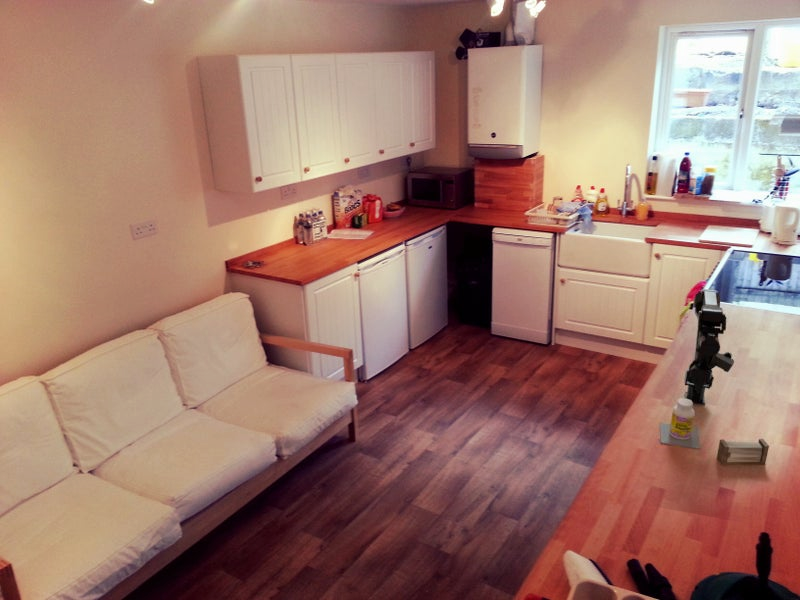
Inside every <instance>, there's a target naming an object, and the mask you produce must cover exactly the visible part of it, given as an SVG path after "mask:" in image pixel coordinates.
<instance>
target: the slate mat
mask: <svg viewBox="0 0 800 600" xmlns="http://www.w3.org/2000/svg"><path fill="white" fill-rule="evenodd" d="M659 425H660V427H659V428H660V429H659V431H660V434H659V435H660V438H659V439H660V444H662V445H663V444H664V445H668V446H677V447H682V448H688V449H696V450H701V440H700V433H699V428H698V427H692V433H691V437H690V438H689V439H686V440H680V439H676V438H674V437H673V436H672V435H671V434H670V426H671V423H666V422H659Z"/></svg>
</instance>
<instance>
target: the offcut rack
mask: <svg viewBox="0 0 800 600" xmlns="http://www.w3.org/2000/svg"><path fill="white" fill-rule="evenodd" d="M769 449H770V445H769V444H768V443H767V442H766V440H764V438H758V441H757V440H755V441H753V440H752V441H750V440H749V441H747V440H746V441H743V440H738V441H737V440H735V441H731V440H730V441H727V440H725V439H719V444H718V449H717V455H716V459H717V461H718V462H719V464H720V466H721V467H722V466H725V467H726V466H765V465H766V462H767V457H768V453H769Z"/></svg>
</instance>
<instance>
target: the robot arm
mask: <svg viewBox="0 0 800 600" xmlns="http://www.w3.org/2000/svg"><path fill="white" fill-rule="evenodd" d="M718 293H719V291H718V290H716V289H708V288H707V289H706V288H704V289H701V291H700V292H698V293H696V294H694V298H693V305H692V307H693V308H694V315H695V317H696V318H697V329H696V342H695V348H694V349H695V350H694V358H693V360H692V362H691V363H690V364H689V366H688V369H686V371H685V374H684V386H687V390H686V391H685V392H684V398H686V399H689V400H691V401H692V402H693V404H699V405H706V399H705V391H706V389H709V390H710V389H711V388H712V387H713V383H714V380H715V377H714V376H713V369H714V368H715V367H717V368H719V369H721V370H723V371H724V372H726V373H729V372H730V371H731V368H732V367H733V366H734V363H735V360H734V358H732V357H733V355H732V353H731V352H729V351H727V352H725V353H720V351H721V344H720V341H719V340H720V339H719V335H724V332H725V331H726V329H727V316H726V313H724V310H723V308H722V307H721V295H719V294H718Z"/></svg>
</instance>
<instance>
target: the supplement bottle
mask: <svg viewBox="0 0 800 600" xmlns="http://www.w3.org/2000/svg"><path fill="white" fill-rule="evenodd" d="M693 407H694V403H693V402H692V401H691V400H689V399H686V398H685V397H683V398H682V397H681V398H679V399H677V402H676V405H675V406H673V408H672V412H671V413H672V414H671V420H670V424H671V426H670V434H671V435H672V436H673V437H674V438H676V439H680V440H686V439H689V438H690V437H691V433H692V427H693V426H694V421H695V414H696V412H695V409H694V408H693Z"/></svg>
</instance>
